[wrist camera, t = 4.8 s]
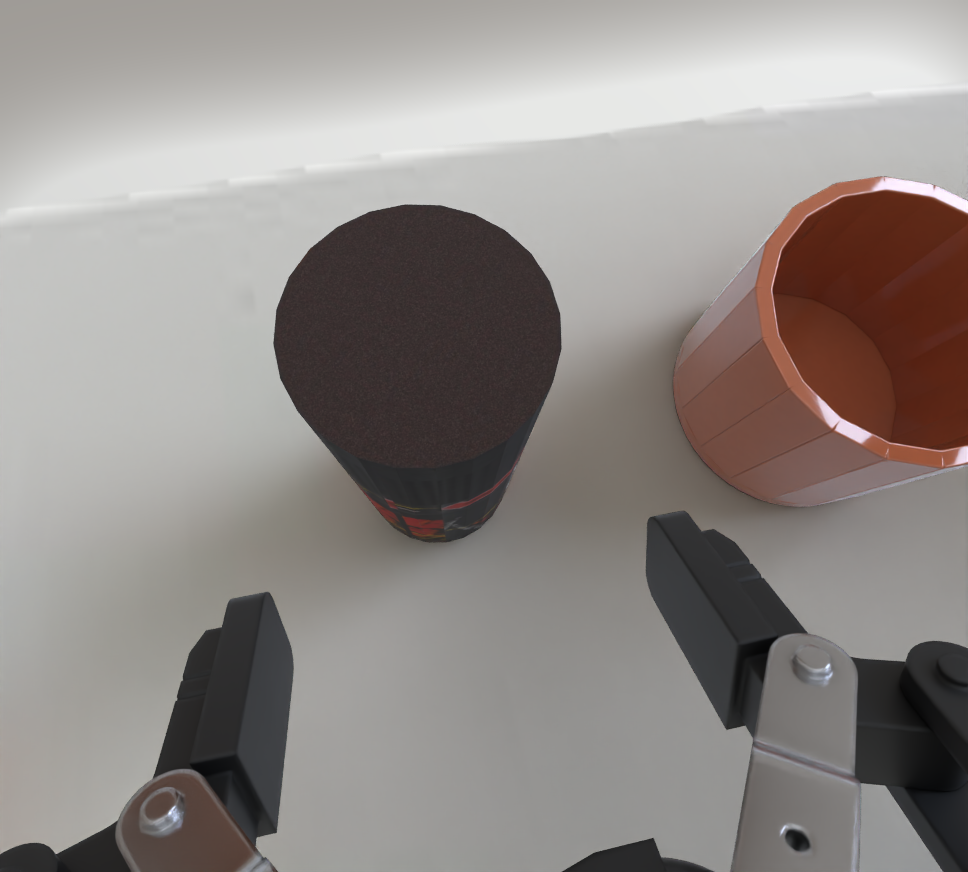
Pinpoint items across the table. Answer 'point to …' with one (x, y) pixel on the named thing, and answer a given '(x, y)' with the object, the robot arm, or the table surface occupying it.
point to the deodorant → (421, 360)
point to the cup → (837, 349)
